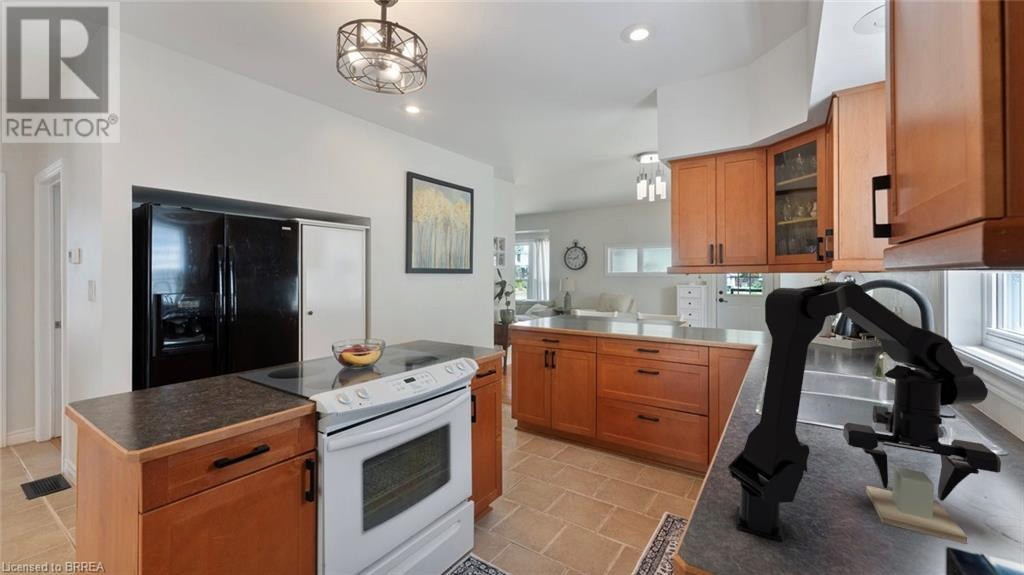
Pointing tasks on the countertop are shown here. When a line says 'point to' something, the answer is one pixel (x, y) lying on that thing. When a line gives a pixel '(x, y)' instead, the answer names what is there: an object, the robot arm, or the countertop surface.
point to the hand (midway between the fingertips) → (911, 493)
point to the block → (913, 492)
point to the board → (915, 517)
